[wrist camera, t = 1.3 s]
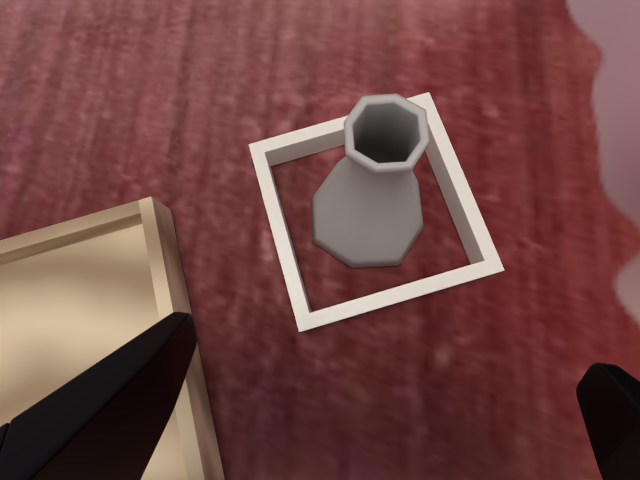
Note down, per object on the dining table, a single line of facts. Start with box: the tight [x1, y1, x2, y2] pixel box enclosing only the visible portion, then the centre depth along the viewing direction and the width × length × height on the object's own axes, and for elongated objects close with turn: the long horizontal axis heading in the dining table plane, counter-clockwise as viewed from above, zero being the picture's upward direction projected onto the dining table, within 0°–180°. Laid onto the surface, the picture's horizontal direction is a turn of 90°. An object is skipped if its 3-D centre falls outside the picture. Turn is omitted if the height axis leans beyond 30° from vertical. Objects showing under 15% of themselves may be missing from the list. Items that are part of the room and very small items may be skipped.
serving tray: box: [0, 197, 225, 480], centre depth 20 cm, size 20×14×2 cm
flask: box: [311, 94, 430, 268], centre depth 18 cm, size 7×7×10 cm
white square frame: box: [249, 92, 504, 332], centre depth 22 cm, size 12×12×2 cm
